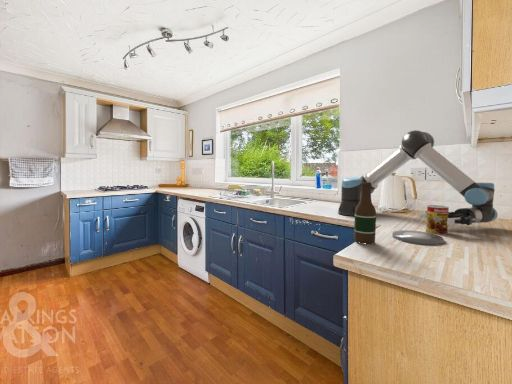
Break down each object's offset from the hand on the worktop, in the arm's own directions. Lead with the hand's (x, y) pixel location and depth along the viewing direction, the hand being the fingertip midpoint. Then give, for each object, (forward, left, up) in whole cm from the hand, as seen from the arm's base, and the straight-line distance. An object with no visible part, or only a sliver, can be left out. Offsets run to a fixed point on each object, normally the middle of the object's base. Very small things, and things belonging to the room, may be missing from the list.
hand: (432, 218), depth 113 cm
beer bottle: (-17, -36, -7) cm, 40 cm away
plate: (-3, -16, -7) cm, 17 cm away
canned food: (+1, +2, -7) cm, 7 cm away
